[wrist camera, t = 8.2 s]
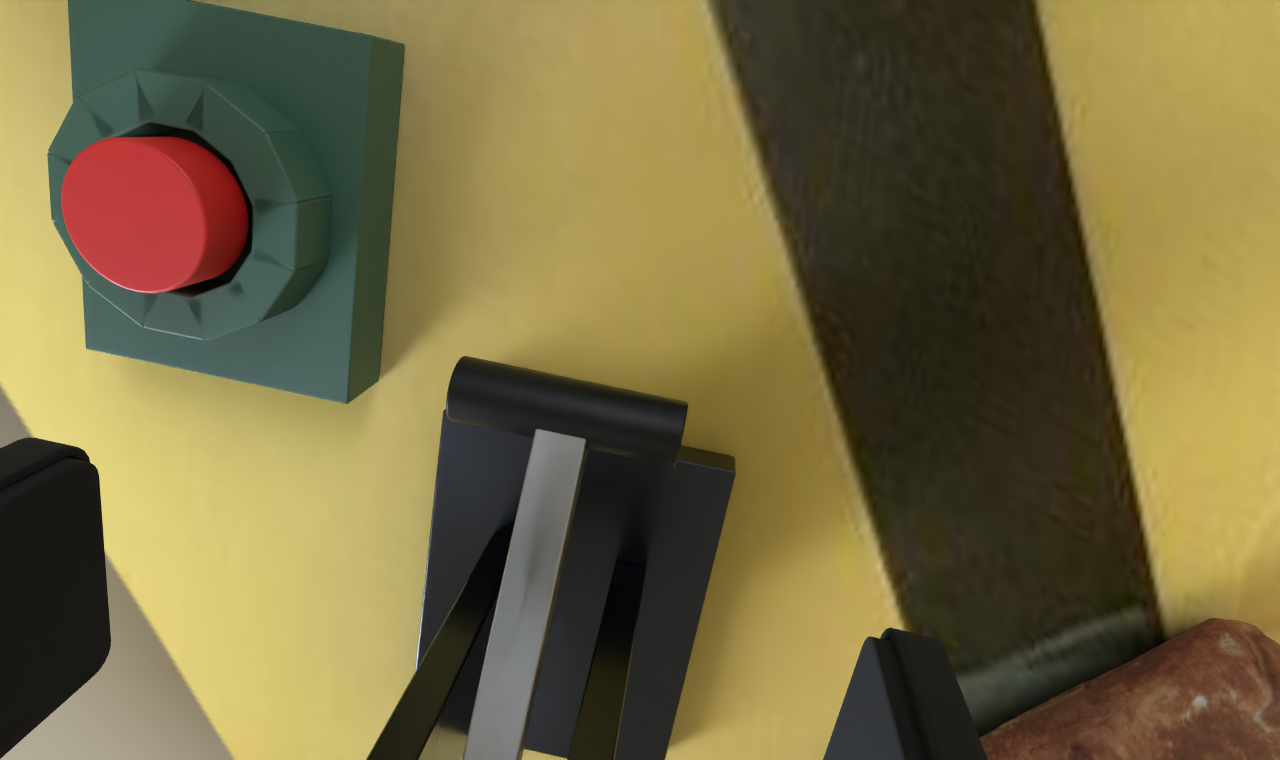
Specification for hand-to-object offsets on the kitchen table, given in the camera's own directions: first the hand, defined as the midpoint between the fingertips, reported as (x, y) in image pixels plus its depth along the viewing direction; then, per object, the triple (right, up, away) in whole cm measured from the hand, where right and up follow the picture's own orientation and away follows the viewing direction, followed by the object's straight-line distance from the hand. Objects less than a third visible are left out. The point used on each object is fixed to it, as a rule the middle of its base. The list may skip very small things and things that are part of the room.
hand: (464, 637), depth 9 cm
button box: (-9, +9, +14) cm, 19 cm away
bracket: (0, -4, +17) cm, 17 cm away
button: (-10, +7, +10) cm, 16 cm away
